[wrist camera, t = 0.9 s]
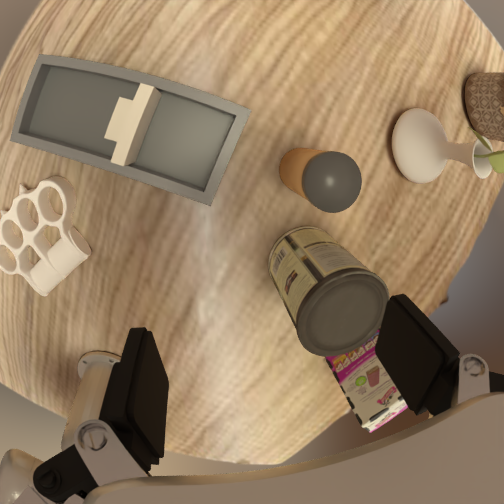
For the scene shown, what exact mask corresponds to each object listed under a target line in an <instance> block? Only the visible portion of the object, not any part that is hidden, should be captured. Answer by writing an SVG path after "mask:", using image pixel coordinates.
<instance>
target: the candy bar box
mask: <svg viewBox="0 0 504 504" xmlns="http://www.w3.org/2000/svg"><path fill="white" fill-rule="evenodd" d="M379 331H380V328H379V329H378V330H377V332H376V333H375V334H374V335H373V336H372V337H371V338H370V339H369V340H368V341H367V342H366V343H364V344H363V345H361V346H360V347H358V348H357V349H355V350H353V351H351V352H348V353H346V354H342V355H338V356H331V357H326V358H325V359H326V361H327V363H328V365H329V367H330V368H331V370H332V372H333V374H334V376H335V378H336V380H337V381H338V383H339V385H340V387H341V389H342V391H343V393H344V395H345V396H346V398H347V400H348V402H349V404H350V406H351V408H352V410H353V411H354V413H355V415H356V417H357V419H358V421H359V423H360V425H361V426H362V427H363V428H364V429H366V430H368V431H369V432H370V433H371V432H373V431H374V430H376V429H377V428H379V427H380V426H382V425H383V424H385V423H386V422H388V421H389V420H391V419H392V418H393V417H395V416H396V415H398V414H399V413H401V412H402V411H403V410H405V409H406V408H407V407H408V406H407V404H406V402H405V401H404V399H403V397H402V396H401V394H400V393H399V391H398V389H397V388H396V386H395V384H394V383H393V381H392V380H391V378H390V376H389V375H388V373H387V372H386V370H385V369H384V367H383V365H382V364H381V362H380V361H379V359H378V358H377V356H376V354H375V345H376V342H377V338H378V335H379Z"/></svg>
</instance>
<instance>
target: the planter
mask: <svg viewBox="0 0 504 504" xmlns="http://www.w3.org/2000/svg"><path fill="white" fill-rule="evenodd" d="M465 103H466V108H467V113H468V116H469V119H470V121H471V123H472V125H473V127H474V129H475V130H476V132H477V133H479V134H480V135H481V136H484V137H486V138H487V139H492V140H498V141H503V142H504V116H503V114H502V113H501V111H500V110H501V108H500V106H501V107H504V73H474V74H472V75H471V76H470V77H469V78H468V80H467V82H466V86H465Z"/></svg>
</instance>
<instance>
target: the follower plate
mask: <svg viewBox="0 0 504 504" xmlns="http://www.w3.org/2000/svg"><path fill="white" fill-rule="evenodd" d="M161 96H162V94H161V93H160V92H159V91H158V90H157V89H156V88H155V87H153V86H150V85H146V84H142V83H140V86H139V88H138V90H137V92H136V95H135V97H134V99H133V100H129V99H126V98H122V97H119V99H118V102H117V104H116V107H115V109H114V112H113V114H112V117H111V120H110V122H109V125H108V128H107V131H106V134H105V137H104V138H106V139H109V140H113V141H116V142H117V144H116V147H115V150H114V153H113V156H112V159H111V162H112V163H115V164H118V165H121V166H126V165H129V164H131V163H134V162H136V159H137V156H138V153H139V150H140V148H141V145H142V142H143V140H144V137H145V134H146V132H147V129H148V127H149V124H150V122H151V119H152V117H153V114H154V112H155V109H156V107H157V105H158V102H159V100H160V98H161Z"/></svg>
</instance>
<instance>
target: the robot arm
mask: <svg viewBox="0 0 504 504" xmlns="http://www.w3.org/2000/svg"><path fill="white" fill-rule="evenodd" d="M375 354H376V356H377V358H378V359H379V361H380V362H381V364H382V365H383V367H384V369H385V370H386V372H387V373H388V375H389V376H390V378H391V380H392V381H393V383H394V384H395V386H396V388H397V389H398V391H399V393H400V394H401V396H402V397H403V399H404V401H405V402H406V404H407V406H408V407H409V409H410V410H412V411H414V412H415V414H416V415H419V414H421V413H423V412H425V411H427V409H428V411H429V412H430V414H429V419H428V420H426V421H424V422H421V423H420V424H417V425H415V426H413V427H410V428H408V429H406V430H403V431H401V432H399V433H396V434H394V435H392V436H389V437H386V438H383V439H381V440H378V441H375V442H372V443H370V444H367V445H364V446H361V447H358V448H355V449H352V450H348V451H345V452H342V453H338V454H334V455H331V456H327V457H323V458H319V459H315V460H311V461H307V462H302V463H297V464H292V465H287V466H281V467H276V468H269V469H263V470H255V471H247V472H239V473H226V474H214V475H193V476H192V475H191V476H152V475H151V474H150V473H149V472H148V471H150V470H151V464H155V465H159V458H163V457H164V444H165V427H166V413H167V401H168V390H169V381H168V377H167V374H166V371H165V369H164V366H163V363H162V360H161V358H160V355H159V352H158V349H157V346H156V343H155V340H154V337H153V334H152V332H151V331H147V329H146V328H145V327H142V328H131V329H130V331H129V334H128V337H127V340H126V343H125V347H124V350H123V353H122V357H119V356H116V355H114V354H111V353H107V352H99V351H97V352H90V353H87V354H85V355H83V356H82V357H81V359H80V361H79V363H78V366H77V371H78V375H79V377H80V379H81V382H80V384H79V387H78V390H77V393H76V396H75V399H74V402H73V405H72V408H71V411H70V414H69V417H68V420H67V423H66V427H65V430H64V434H63V437H62V442H61V449H62V452H60V453H59V454H57V455H55V456H54V457H52V458H51V459H49V460H47V461H45V462H43V461H41V460H39V459H37V458H35V457H33V456H32V455H30V454H28V453H26V452H24V451H21V450H19V449H10V450H8V451H7V452H6V453H5V455H4V456H3V459H2V461H1V464H0V504H504V375H502V374H498V373H494V372H489V370H488V366H487V363H486V362H485V361H484V360H483V359H482V358H481V357H479V356H477V355H474V354H467V355H464V356H463V357H462V358H461V359H459V358H458V356H459V354H460V353H459V351H458V350H457V349H456V348H455V347H454V346H453V345H452V344H451V342H450V341H449V340H448V339H447V338H446V337H445V336H444V335H443V334H442V333H441V331H439V329H438V328H437V327H436V326H435V325H434V324H433V323H432V322H431V321H430V320H429V319H428V317H427V316H426V315H425V314H424V313H423V312H422V311H421V310H420V309H419V308H418V307H417V306H416V305H415V304H414V303H413V302H412V301H411V300H410V299H409V298H408V297H407V296H406V295H405V294H400V295H395V296H392V297H391V298H390V300H389V301H387V304H386V308H385V312H384V316H383V320H382V324H381V328H380V331H379V335H378V338H377V342H376V345H375Z"/></svg>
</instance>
